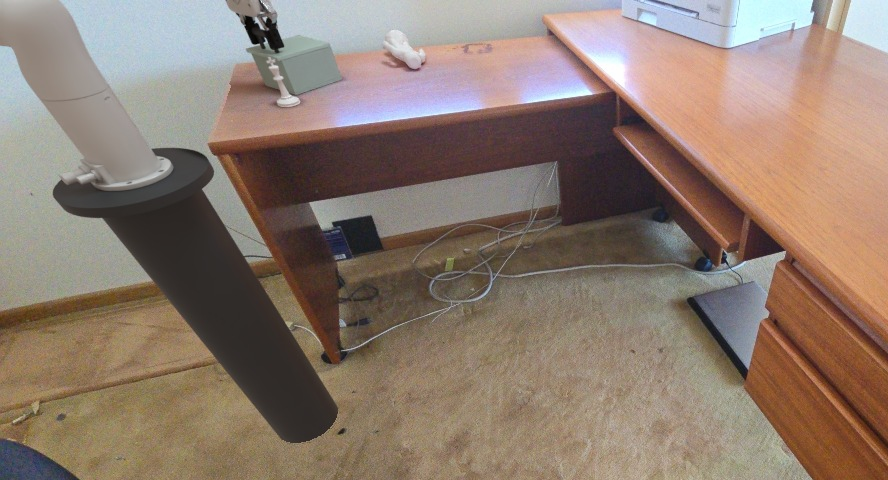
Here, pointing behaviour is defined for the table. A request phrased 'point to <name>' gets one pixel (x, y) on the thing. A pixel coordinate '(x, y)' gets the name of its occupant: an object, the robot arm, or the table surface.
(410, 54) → the figure
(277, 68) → the chess piece
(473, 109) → the table surface
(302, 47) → the lid
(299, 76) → the gray-green box
